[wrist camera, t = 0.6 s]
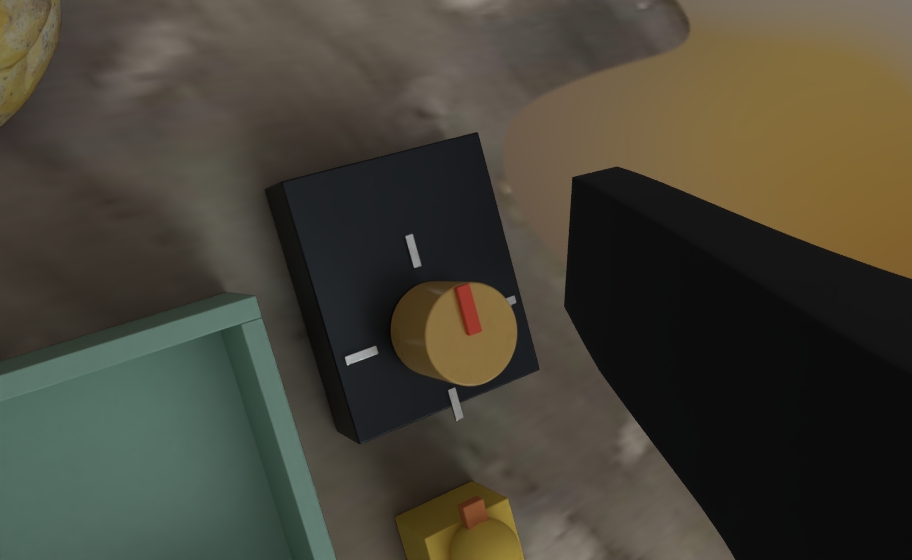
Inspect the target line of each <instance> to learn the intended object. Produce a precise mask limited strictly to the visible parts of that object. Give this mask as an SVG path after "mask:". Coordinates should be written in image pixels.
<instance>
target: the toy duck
mask: <svg viewBox="0 0 912 560" xmlns="http://www.w3.org/2000/svg"><path fill="white" fill-rule="evenodd" d="M395 520H396V523H397V527H398V530H399V533H400V537H401V540H402V543H403V547H404V550H405V554H406V557H407V560H525V559H524V555H523V552H522V548H521V544H520V541H519V537H518V534H517V530H516V526H515V523H514V519H513V515H512V512H511V508H510V504H509V501H508V498H506V497H504V496H502V495H500V494H498V493H496V492H494V491H492V490H490V489H488V488H486V487H484V486H482V485H480V484H478V483H477V482H475V481H471V482H469V483H467V484H464V485H462V486H460V487H458V488H456V489H454V490H452V491H449V492H447V493H445V494H443V495H441V496H439V497H437V498H434V499H432V500H430V501H428V502H426V503H424V504H422V505H419V506H417V507H415V508H413V509H411V510H409V511H407V512H404V513H402V514H400V515H398V516H396V517H395Z"/></svg>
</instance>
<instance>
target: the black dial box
mask: <svg viewBox="0 0 912 560" xmlns="http://www.w3.org/2000/svg"><path fill="white" fill-rule="evenodd" d="M265 193H266V196H267V199H268V203H269V206H270V209H271V213H272V216H273V219H274V223H275V226H276V229H277V233H278V236H279V239H280V243H281V246H282V249H283V253H284V256H285V259H286V263H287V266H288V269H289V273H290V276H291V279H292V283H293V286H294V289H295V293H296V296H297V299H298V303H299V306H300V309H301V313H302V316H303V319H304V323H305V326H306V329H307V333H308V336H309V339H310V343H311V346H312V349H313V353H314V356H315V359H316V363H317V366H318V369H319V372H320V376H321V379H322V382H323V386H324V389H325V392H326V396H327V399H328V402H329V406H330V409H331V412H332V416H333V419H334V422H335V426H336V429H337V431H338V432H339V433H341V434H343V435H344V436H346V437H348V438H349V439H351V440H353V441H355V442H356V443H358V444H362V443H365V442H367V441H370V440H372V439H374V438H377V437H379V436H382V435H384V434H386V433H389V432H391V431H394V430H396V429H398V428H401V427H403V426H406V425H408V424H411V423H413V422H415V421H418V420H420V419H423V418H425V417H427V416H430V415H432V414H435V413H437V412H439V411H442V410H444V409H447V408H449V407H452V411H453V414H454V418H455V420H459V419H462V418H464V417H463V414H462V410H461V406H460V403H461V402H463V401H466V400H468V399H471V398H473V397H475V396H478V395H480V394H483V393H485V392H487V391H490V390H492V389H495V388H497V387H499V386H502V385H504V384H507V383H509V382H511V381H514V380H516V379H519V378H521V377H523V376H526V375H528V374H531V373H533V372H535V371H538V370H539V365H538V361H537V357H536V354H535V350H534V346H533V342H532V338H531V334H530V331H529V327H528V323H527V319H526V315H525V311H524V308H523V304H522V300H521V296H520V292H519V288H518V285H517V281H516V277H515V273H514V269H513V265H512V262H511V258H510V254H509V250H508V246H507V242H506V239H505V235H504V231H503V227H502V223H501V219H500V216H499V212H498V208H497V204H496V200H495V196H494V193H493V189H492V185H491V181H490V177H489V173H488V170H487V166H486V162H485V158H484V154H483V150H482V147H481V143H480V139H479V135H478V133H477V132H475V133H471V134H467V135H464V136H460V137H456V138H452V139H448V140H444V141H440V142H436V143H432V144H428V145H424V146H420V147H416V148H412V149H408V150H404V151H400V152H396V153H392V154H389V155H385V156H381V157H377V158H373V159H369V160H365V161H361V162H357V163H353V164H349V165H345V166H341V167H337V168H333V169H329V170H325V171H321V172H317V173H313V174H310V175H306V176H302V177H298V178H294V179H290V180H286V181H282V182H280V183H277V184H275V185H273V186H270V187H268V188H266V189H265ZM430 281H450V282H478V283H483V284H486V285H489V286H491V287H493V288H494V289H496V290H497V291H499V292H500V293H501V294H502V295H503V296H504V297H505V299H506V300H507V301H508V303H509V304H510V306H511V308H512V310H513V312H514V315H515V319H516V324H517V341H516V346H515V350H514V353H513V355H512V358H511V359H510V361H509V363H508V364H507V366H506V367H505V368H504V370H503V371H502V372H501V373H500V374H499V375H497V376H496V377H495V378H493V379H492V380H490V381H488V382H486V383H484V384H481V385H476V386H461V385H457V384H454V383H450V382H447V381H443V380H440V379H436V378H433V377H429V376H426V375H422V374H419V373H417V372H414V371H413V370H411V369H409V368H408V367H407V366H406V365H405V364H404V363H403V362H402V361H401V360H400V358H399V357H398V355H397V353H396V352H395V349H394V347H393V344H392V339H391V321H392V316H393V313H394V310H395V308H396V306H397V304H398V303H399V301H400V300H401V298H402V297H403V296H404V295H405V294H406V293H407V292H408V291H409V290H410V289H412V288H413V287H415V286H417V285H419V284H422V283H425V282H430Z"/></svg>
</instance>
